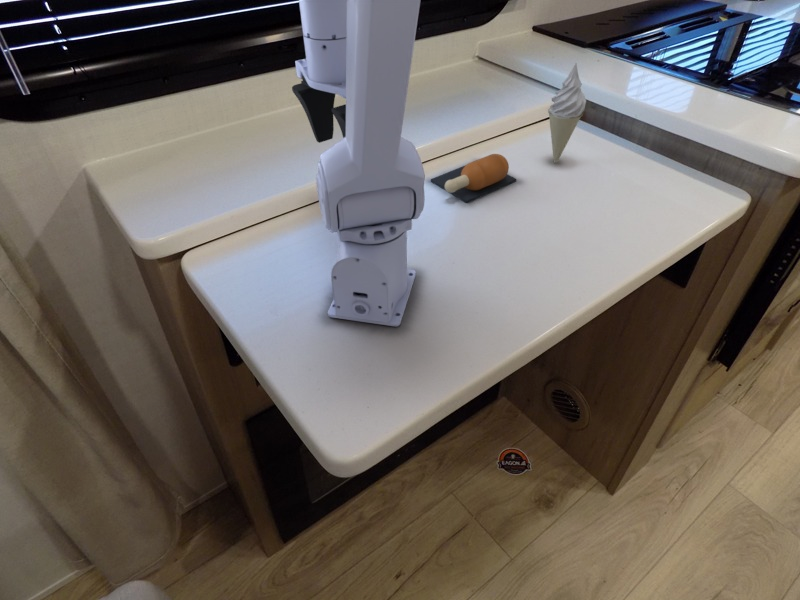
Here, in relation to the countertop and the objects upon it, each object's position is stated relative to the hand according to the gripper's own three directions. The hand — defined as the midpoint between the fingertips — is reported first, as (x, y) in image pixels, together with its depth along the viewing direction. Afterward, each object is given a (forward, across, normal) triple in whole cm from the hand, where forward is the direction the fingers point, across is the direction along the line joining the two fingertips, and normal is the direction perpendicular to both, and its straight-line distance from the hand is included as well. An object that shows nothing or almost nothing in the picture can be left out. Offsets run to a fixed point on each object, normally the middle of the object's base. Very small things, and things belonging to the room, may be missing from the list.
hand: (340, 150), depth 67 cm
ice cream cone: (+10, -8, -34) cm, 36 cm away
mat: (+9, -4, -20) cm, 22 cm away
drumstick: (+8, -5, -19) cm, 21 cm away
